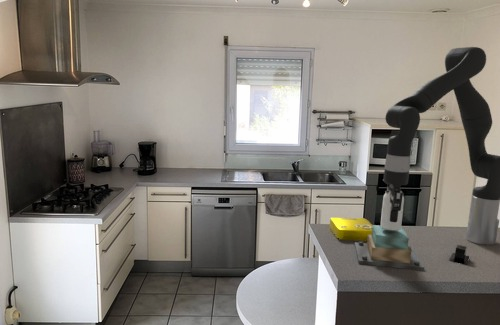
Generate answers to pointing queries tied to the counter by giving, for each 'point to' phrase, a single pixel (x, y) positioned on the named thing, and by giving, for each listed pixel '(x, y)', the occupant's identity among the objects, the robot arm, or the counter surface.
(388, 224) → the can
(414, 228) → the counter surface
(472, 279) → the counter surface
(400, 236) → the brick tower
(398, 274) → the counter surface
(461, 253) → the black slotted housing
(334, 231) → the element tile
